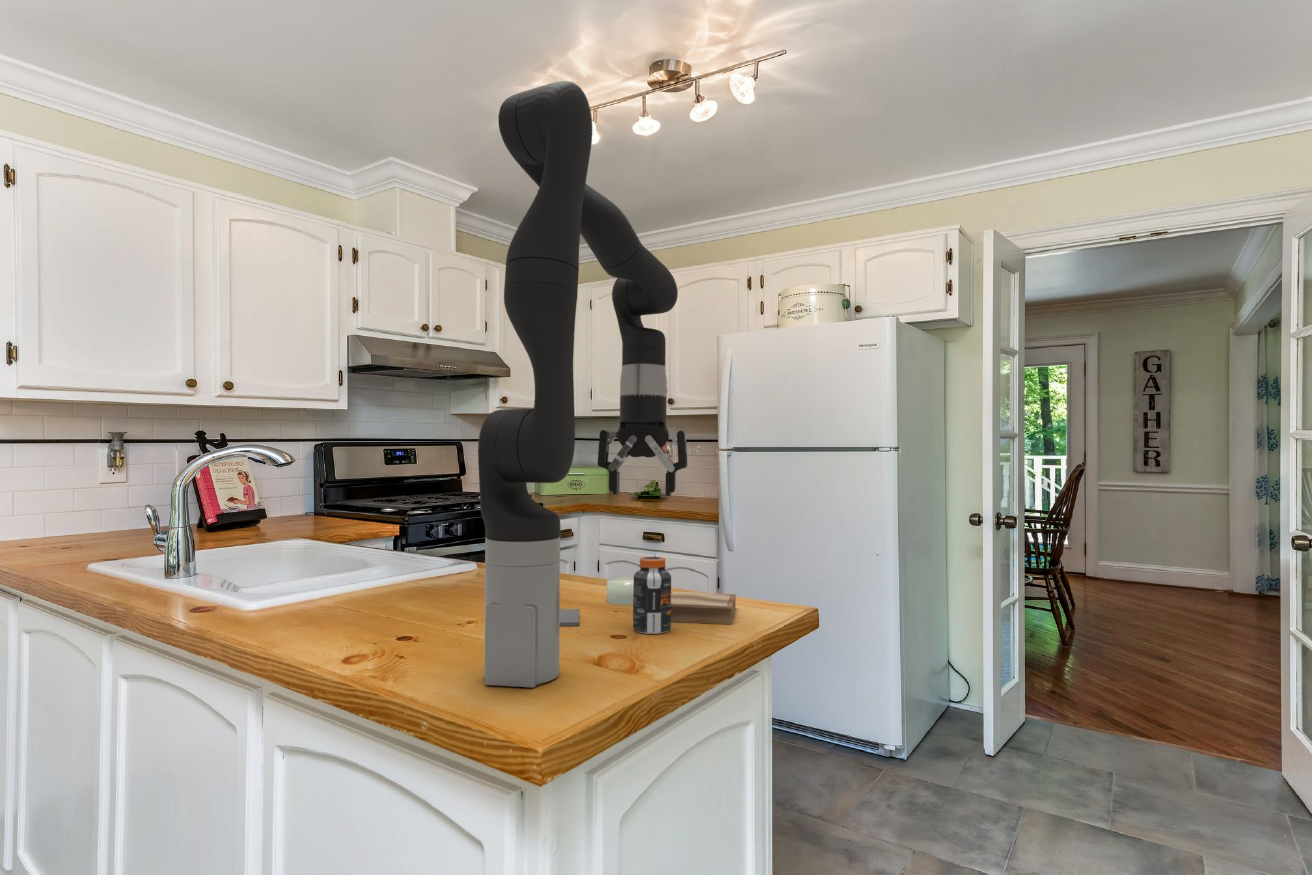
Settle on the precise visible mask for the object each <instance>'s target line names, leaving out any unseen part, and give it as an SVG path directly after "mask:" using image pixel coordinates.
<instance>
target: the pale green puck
mask: <svg viewBox="0 0 1312 875" xmlns="http://www.w3.org/2000/svg"><path fill="white" fill-rule="evenodd" d="M633 585H634V576H617V577H616V576H615V577H611V578H608V579H606V602H607V604H610V605H613V606H622V607H623V606H624V607H625V606H626V607H627V606H629V607H631V606H632V607H633V588H634V587H633Z"/></svg>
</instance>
